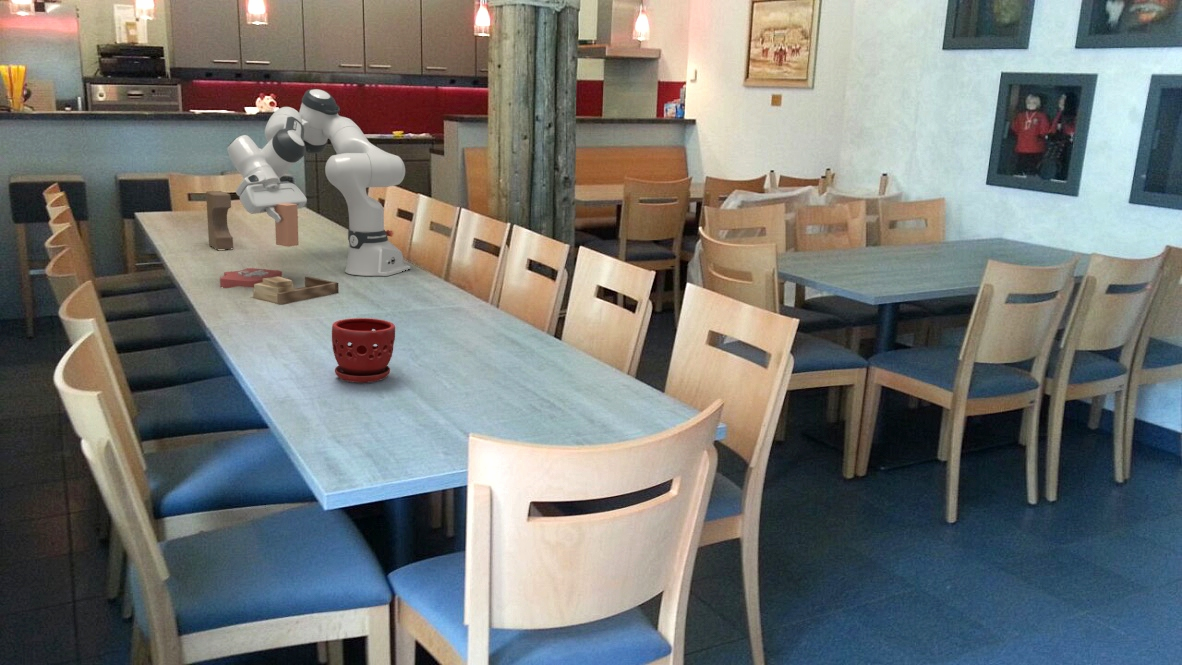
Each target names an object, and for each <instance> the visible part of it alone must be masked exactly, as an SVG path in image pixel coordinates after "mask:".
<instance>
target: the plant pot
mask: <svg viewBox="0 0 1182 665" xmlns="http://www.w3.org/2000/svg"><path fill="white" fill-rule="evenodd" d="M395 340H396V326H395V324H394V323H393V322H390V321H387V320H383V319H378V318H367V317H365V318H364V317H360V318H359V317H357V318H345V319H340V320H336V321H335V322H333V323H332V326H331V344H332V351H333V355H334V358H335V361H336V363H337V366H336V367H335V369H334V372H335V375H336V376H337V377H338V378H339V379H341V380H342V381H345V382H348V383H350V382H352V383H356V384H358V383H359V384H365V383H375V382H378V381H381V380H384V379H385V378H386V377H388V375H389V374H390V372H391V368H390V367H389V366H388V365H389V364H390V361H391V360H392V359H391V358H392V356H393V353H394V344H395ZM349 344H350V345H349Z"/></svg>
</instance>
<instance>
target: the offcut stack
mask: <svg viewBox="0 0 1182 665" xmlns="http://www.w3.org/2000/svg"><path fill="white" fill-rule="evenodd" d="M253 288H254V289H253V292H252V293H253V294H252V295H253V296H252V297H254V298H258V299H257V300H259V299H262V300H261V301H263V300H266V301H265V302H267V301H270V302H269V303H271V302H275V303H278V299H277V293H281V292H287V291H292V290H294V289H295V284H293V280H291V279H288V278H284V277H283V276H282V277H271V278H263V282H262V283H257V284H254V287H253ZM254 298H253V299H254ZM275 303H274V304H275Z"/></svg>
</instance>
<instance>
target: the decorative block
mask: <svg viewBox="0 0 1182 665" xmlns="http://www.w3.org/2000/svg"><path fill="white" fill-rule="evenodd" d="M205 196H206V197H205V198H206V200H205V201H206V215H207V231H208V232H207V234H208V246H209V245H210V246H209V247H211V246H212V247H211V248H213V247H214V248H213V249H215V248H216V249H231V248H233V249H234V239H233V236H232V235H231V233H230V231H229V225H228V212H229V209H230V208H231V207H232V198H231V194H230V193H227V192H224V191H221V190H214V191H213V190H210V191H206V192H205ZM216 249H215V250H216Z"/></svg>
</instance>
